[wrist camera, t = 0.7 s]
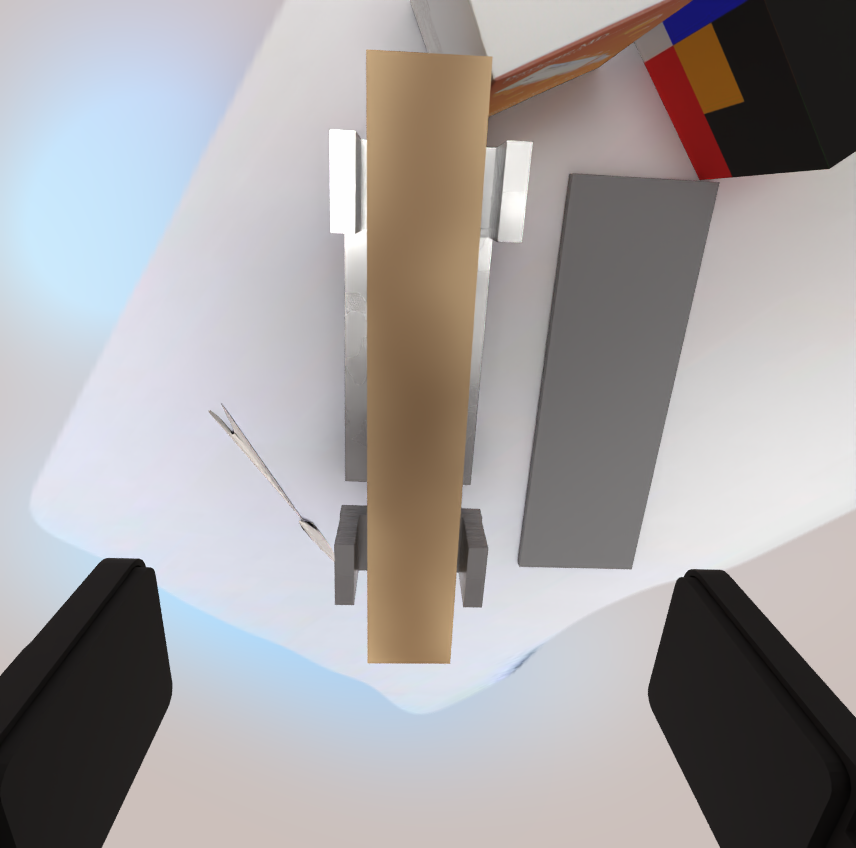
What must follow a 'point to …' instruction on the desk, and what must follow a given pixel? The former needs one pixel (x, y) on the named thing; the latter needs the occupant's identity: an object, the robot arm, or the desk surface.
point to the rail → (419, 336)
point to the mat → (610, 364)
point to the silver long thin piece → (272, 481)
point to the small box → (537, 37)
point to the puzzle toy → (758, 83)
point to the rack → (349, 216)
